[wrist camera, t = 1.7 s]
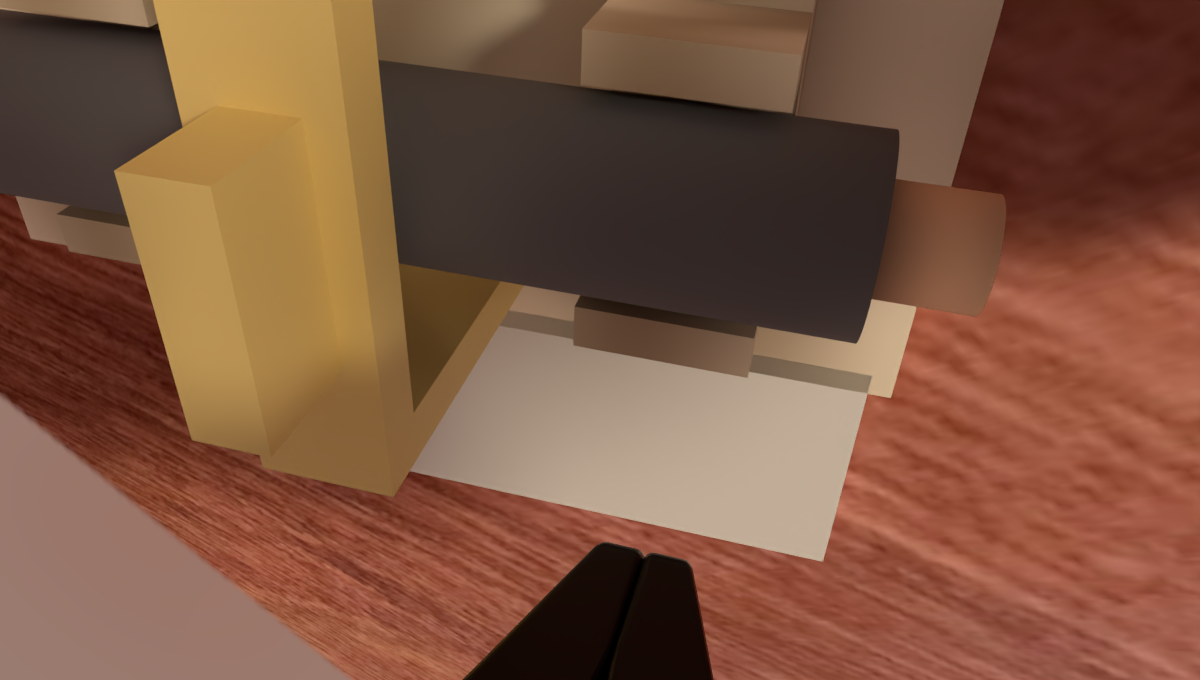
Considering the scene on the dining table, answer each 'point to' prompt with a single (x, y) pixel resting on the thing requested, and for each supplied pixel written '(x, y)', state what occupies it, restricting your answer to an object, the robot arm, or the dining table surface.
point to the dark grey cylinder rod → (559, 184)
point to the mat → (653, 439)
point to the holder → (682, 72)
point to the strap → (295, 248)
